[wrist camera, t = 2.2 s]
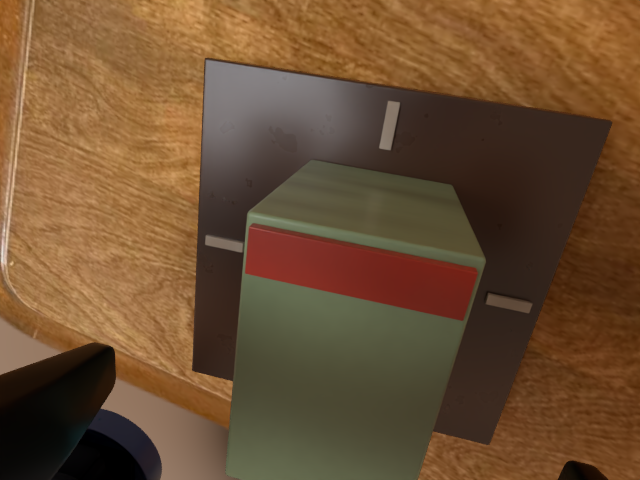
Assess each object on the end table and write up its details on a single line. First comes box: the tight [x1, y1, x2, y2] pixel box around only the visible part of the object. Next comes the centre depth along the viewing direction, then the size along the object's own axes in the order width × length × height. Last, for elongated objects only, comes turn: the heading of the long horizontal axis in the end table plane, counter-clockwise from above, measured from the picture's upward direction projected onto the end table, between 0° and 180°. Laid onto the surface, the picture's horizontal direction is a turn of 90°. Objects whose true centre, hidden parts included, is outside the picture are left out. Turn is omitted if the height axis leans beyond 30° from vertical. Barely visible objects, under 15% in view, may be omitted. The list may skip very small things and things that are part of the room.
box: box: [226, 160, 486, 480], centre depth 12 cm, size 7×4×6 cm, turn 172°
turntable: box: [192, 58, 612, 445], centre depth 16 cm, size 12×12×2 cm
